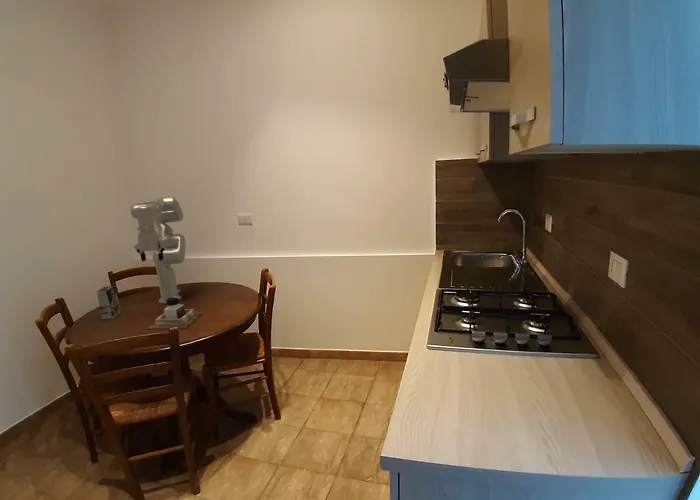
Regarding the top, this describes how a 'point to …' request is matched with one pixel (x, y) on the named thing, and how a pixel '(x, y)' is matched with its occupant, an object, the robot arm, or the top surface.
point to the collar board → (176, 321)
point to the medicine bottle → (174, 309)
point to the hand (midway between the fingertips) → (152, 260)
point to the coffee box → (108, 302)
